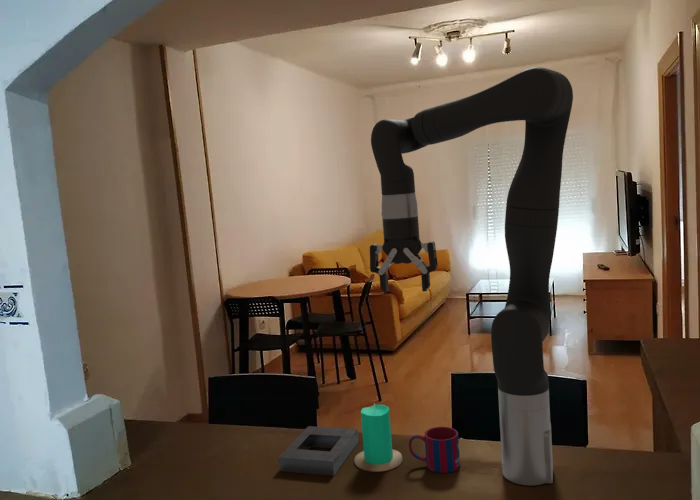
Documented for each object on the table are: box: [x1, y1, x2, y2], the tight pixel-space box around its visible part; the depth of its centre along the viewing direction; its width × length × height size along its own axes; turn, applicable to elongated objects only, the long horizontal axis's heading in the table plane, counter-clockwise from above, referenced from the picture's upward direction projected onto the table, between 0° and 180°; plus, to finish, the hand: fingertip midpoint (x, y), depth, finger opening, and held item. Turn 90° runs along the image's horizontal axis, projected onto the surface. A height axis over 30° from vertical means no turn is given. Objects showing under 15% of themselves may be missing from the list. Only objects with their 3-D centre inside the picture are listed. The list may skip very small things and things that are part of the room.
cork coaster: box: [354, 448, 403, 473], centre depth 126 cm, size 10×10×1 cm
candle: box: [360, 402, 393, 465], centre depth 126 cm, size 6×6×12 cm
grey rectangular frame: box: [278, 425, 359, 477], centre depth 131 cm, size 12×16×3 cm
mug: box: [408, 426, 461, 474], centre depth 122 cm, size 7×10×7 cm
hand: (405, 291), depth 129 cm, fingers open, 8 cm apart
